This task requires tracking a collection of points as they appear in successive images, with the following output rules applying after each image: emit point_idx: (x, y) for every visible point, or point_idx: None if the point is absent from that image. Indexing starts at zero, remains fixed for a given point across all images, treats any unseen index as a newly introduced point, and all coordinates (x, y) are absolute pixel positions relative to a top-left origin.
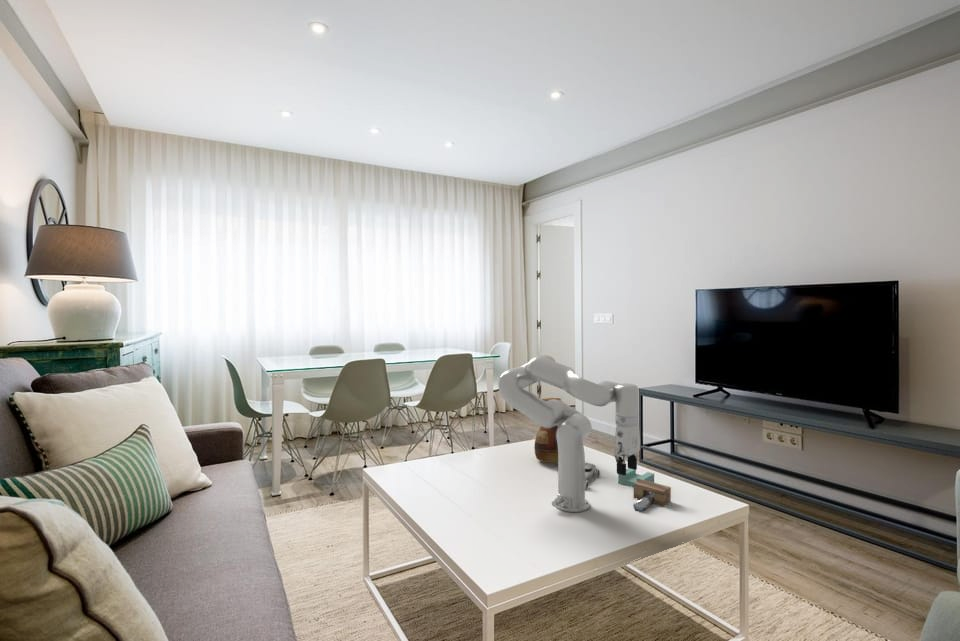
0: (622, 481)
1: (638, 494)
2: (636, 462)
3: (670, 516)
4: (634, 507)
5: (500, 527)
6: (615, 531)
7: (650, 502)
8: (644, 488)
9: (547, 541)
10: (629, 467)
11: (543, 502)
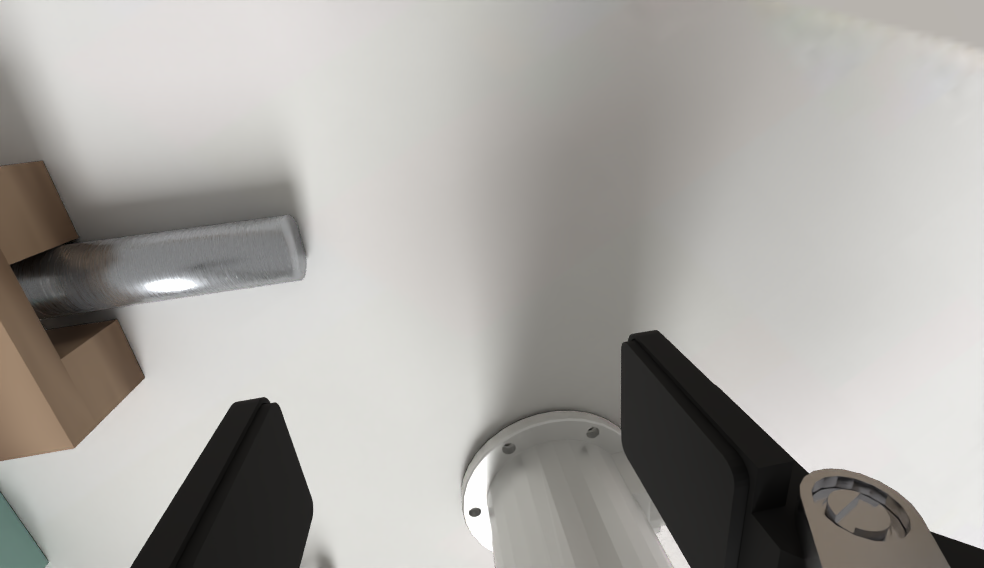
0: (18, 557)
1: (108, 365)
2: (195, 496)
3: (147, 21)
4: (303, 266)
5: (919, 475)
6: (661, 155)
7: (129, 237)
8: (40, 354)
9: (940, 297)
10: (305, 492)
11: None
